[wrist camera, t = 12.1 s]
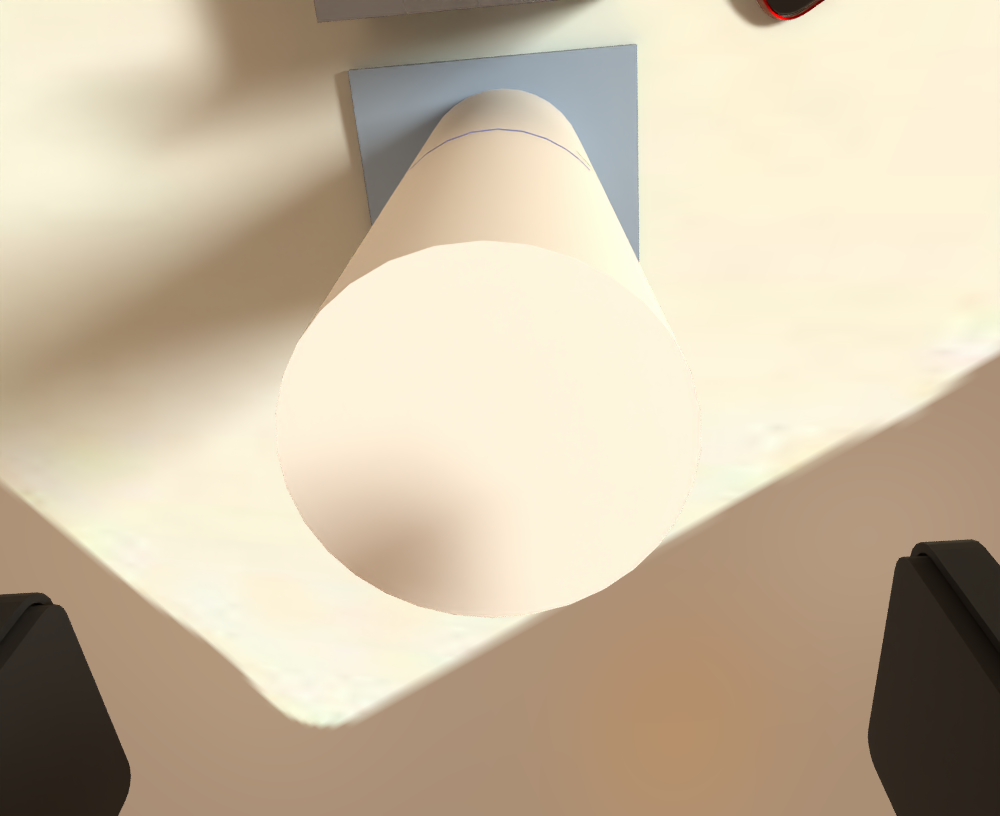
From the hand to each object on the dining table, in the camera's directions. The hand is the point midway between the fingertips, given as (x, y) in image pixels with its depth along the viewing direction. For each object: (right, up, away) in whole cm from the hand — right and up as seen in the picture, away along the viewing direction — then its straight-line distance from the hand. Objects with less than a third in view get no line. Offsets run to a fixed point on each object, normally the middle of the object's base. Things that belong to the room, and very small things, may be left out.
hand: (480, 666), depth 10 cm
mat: (0, +13, +28) cm, 31 cm away
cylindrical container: (0, +13, +27) cm, 30 cm away
